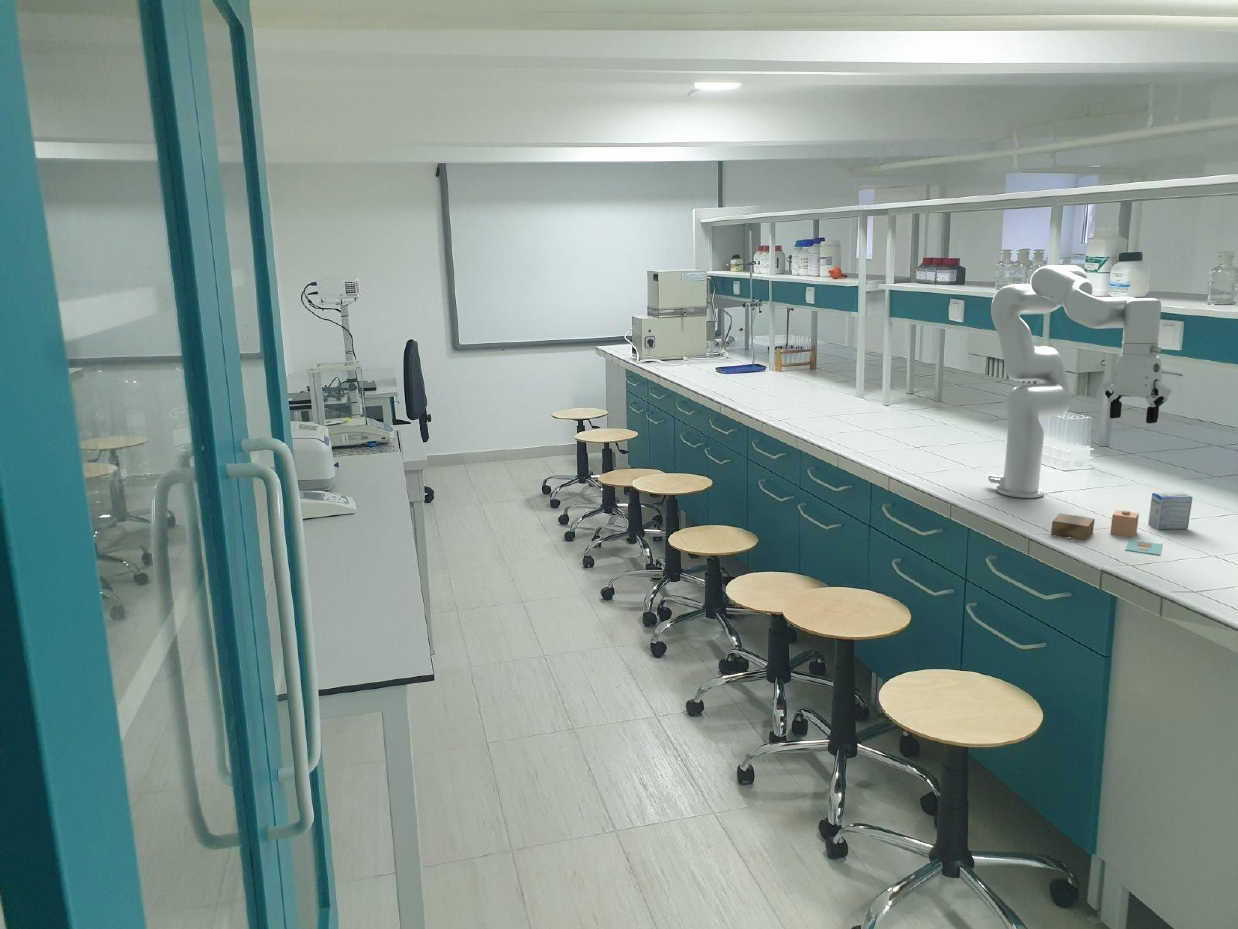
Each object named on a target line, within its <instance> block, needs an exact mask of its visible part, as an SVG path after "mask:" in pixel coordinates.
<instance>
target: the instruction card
mask: <svg viewBox="0 0 1238 929" xmlns="http://www.w3.org/2000/svg"><path fill="white" fill-rule="evenodd" d="M1162 545H1163V544H1162V543H1157V542H1150V541H1143V540H1137V539H1128V541H1127V543H1126V547H1125V549H1124V551H1126V552H1133V551H1134V553H1141V554H1148V555H1154V556H1161V555H1160V554H1161V549H1162Z"/></svg>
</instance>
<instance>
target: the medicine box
mask: <svg viewBox="0 0 1238 929" xmlns="http://www.w3.org/2000/svg"><path fill="white" fill-rule="evenodd" d="M1192 504H1193V496H1192V495H1190V494H1188V493H1186V492H1182V491H1176V492H1175V491H1165V492H1153V493H1152V494H1151V500H1150V508H1149V515H1148V523H1147V524H1148V525H1149V526H1151V527H1152V528H1154V529H1156V530H1181V529H1183V530H1184V529H1185V530H1187V529H1189V524H1190V517H1191V511H1192Z"/></svg>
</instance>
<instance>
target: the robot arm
mask: <svg viewBox="0 0 1238 929" xmlns="http://www.w3.org/2000/svg"><path fill="white" fill-rule="evenodd" d="M1029 283H1030V284H1029ZM1029 283H1025V284H1024V283H1021V284H1020V283H1019V284H1010V285H1006V286H1002V287H1001V288H1000V289H998V290H997V291H996V293H995V294H994V295H993V298H992V301H991V306H990V313H991V314H990V315H991V319H992V322H993V325H994V328H995V330H996V333H997V335H998V340H999V344H1000V349H1001V354H1002V358H1003V359H1002V360H1003V364H1004V369H1005V372H1006V374H1007V376H1008V378H1009V379H1010V380H1012V381H1014V382H1015V381H1016V382H1030V381H1031V382H1032V381H1038V382H1039V383H1033V384H1032V383H1030V384H1022V385H1018V386H1015V387H1014V388H1012V389H1011V390H1009V392H1008V394H1007V396H1006V411H1007V435H1006V448H1005V458H1004V468H1003V469H1004V470H1003V475H1002V474H1001V475H1000V476H999V475H996V474H989V475H988V477H987V478H988V482H990V483H993V484H998V485H997V487H996V491H997V493H998V494H1001V495H1003V496H1006V497H1012V498H1019V499H1020V498H1021V499H1035V498H1041V497H1043V496H1044V495H1045V490H1044V489H1042V488H1041V487H1039V486H1040V479H1041V478H1040V477H1041V468H1042V457H1043V448H1044V440H1045V439H1044V437H1045V436H1044V434H1045V433H1044V429H1043V426H1042V425H1041V424H1042V423H1041V422H1040V420H1039V418H1049V417H1060V416H1062V415H1064V414H1066V413H1067V412H1068V410H1069V409H1070V406H1071V400H1072V399H1071V391H1070V385H1069V382H1068V377H1067V376H1068V375H1067V373H1066V372H1067V371H1066V368H1065V363H1064V360H1063V358H1062V355H1061V354H1060V353H1059V351H1057V350H1056V349H1055V348H1053V347H1050V346H1036V345H1035V343H1034V340H1033V335H1032V334H1033V333H1032V331H1031V329H1030V327H1029V326H1028V324H1027V323H1026V322H1025V321H1024V320H1023V319H1022V318H1021V317H1020V316H1021V315H1044V314H1050V313H1052V312H1054V311H1056V310H1058V309H1059V308H1061V307H1063V309H1064V311H1065V314H1066V315H1067V317H1068V318H1069V319H1070V320H1072V321H1074V322H1075V323H1078V324H1080V325H1082V326H1085V327H1086V328H1091V329H1099V330H1101V329H1102V330H1103V329H1123V330H1122V331H1123V332H1122V340H1121V341H1122V342H1121V351H1120V352H1121V354H1119V356H1118V358H1117V361H1116V365H1115V369H1114V374H1113V375H1114V376H1113V378H1112V379H1110V380H1107V381H1106V382H1103V383H1102V388H1103V390H1104V394H1105V396H1106V397H1107V399H1108V402H1109V403H1110V404H1109V418H1110V419H1118V418H1121V415H1122V405H1123V404H1122V399H1123V397H1128V398H1137V399H1145V400H1146V401H1147V403H1148V406H1147V408H1146V418H1145V423H1146V424H1149V425H1150V424H1156V423H1157V422H1158V419H1159V414H1160V413H1159V412H1160V407H1162V405H1163V404H1164V403H1165V402H1167V401H1168V398H1169V396H1170V395H1171V393H1172V389H1171V388H1170V387H1168V386H1167V385H1165V384H1163V371H1162V370H1163V369H1162V361H1161V360H1162V359H1161V356H1158V353H1161V351H1162V346H1159V335H1160V324H1161V312H1162V302H1161V300H1160V299H1157V298H1147V297H1146V298H1136V297H1131V296H1120V297H1118V296H1117V297H1113V296H1111V297H1096V296H1093V285H1092V283H1091V282H1090V281H1089V280H1088V276H1087V274H1086V272H1085V271H1084V269H1083V268H1081V267H1079V266H1077V265H1071V264H1069V265H1068V264H1066V265H1065V264H1064V265H1062V264H1061V265H1045V266H1042V267H1039V268H1038V269H1037V270H1036V269H1035V271H1034V272H1033V273H1032V275H1031V276H1030V281H1029Z"/></svg>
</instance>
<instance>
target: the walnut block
mask: <svg viewBox="0 0 1238 929" xmlns="http://www.w3.org/2000/svg"><path fill="white" fill-rule="evenodd" d="M1095 520H1096V519H1095V518H1093V517H1087V516H1082V515H1081V516H1080V515H1076V514H1075V515H1073V514H1066V513H1059V514H1057V515H1056V517H1055V518H1054V519H1053V520H1052V523H1051V530H1050V531H1051V533H1050V535H1051V536H1053V535H1056V536H1055V537H1059V536H1061V538H1065V537H1071V538H1074V539H1073V540H1077V539H1078V540H1079V541H1083V540H1084V542H1087V541H1088V540H1087V539H1090V538H1091V536H1092V535H1093V533H1094V526H1095ZM1091 534H1092V535H1091ZM1071 538H1070V539H1071Z"/></svg>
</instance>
